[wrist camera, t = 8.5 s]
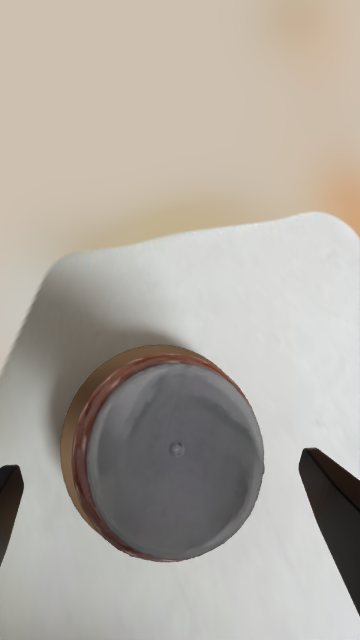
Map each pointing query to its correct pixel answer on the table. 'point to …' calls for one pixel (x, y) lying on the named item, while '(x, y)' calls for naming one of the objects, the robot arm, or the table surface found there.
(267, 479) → the table surface
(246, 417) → the supplement bottle
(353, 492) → the robot arm
